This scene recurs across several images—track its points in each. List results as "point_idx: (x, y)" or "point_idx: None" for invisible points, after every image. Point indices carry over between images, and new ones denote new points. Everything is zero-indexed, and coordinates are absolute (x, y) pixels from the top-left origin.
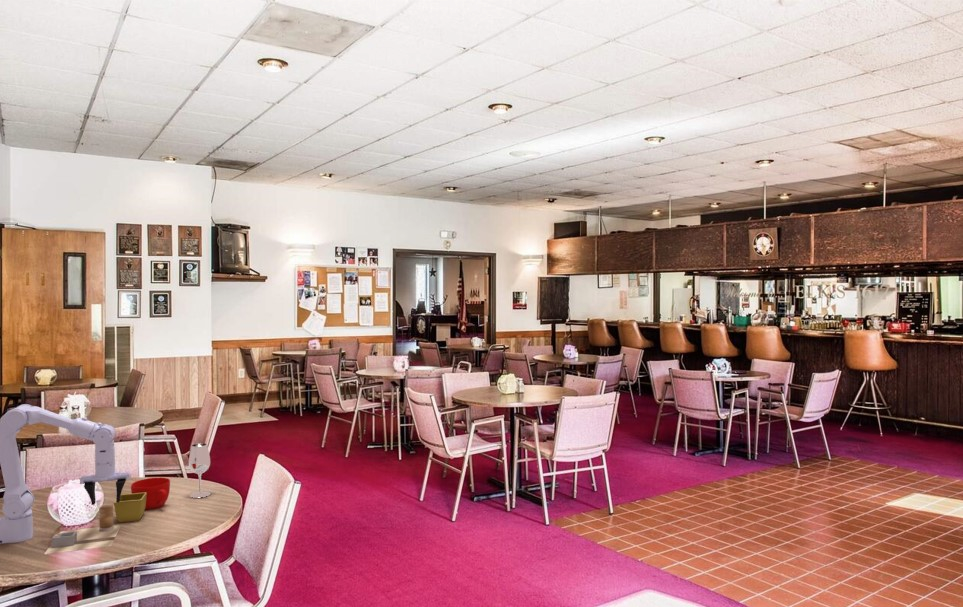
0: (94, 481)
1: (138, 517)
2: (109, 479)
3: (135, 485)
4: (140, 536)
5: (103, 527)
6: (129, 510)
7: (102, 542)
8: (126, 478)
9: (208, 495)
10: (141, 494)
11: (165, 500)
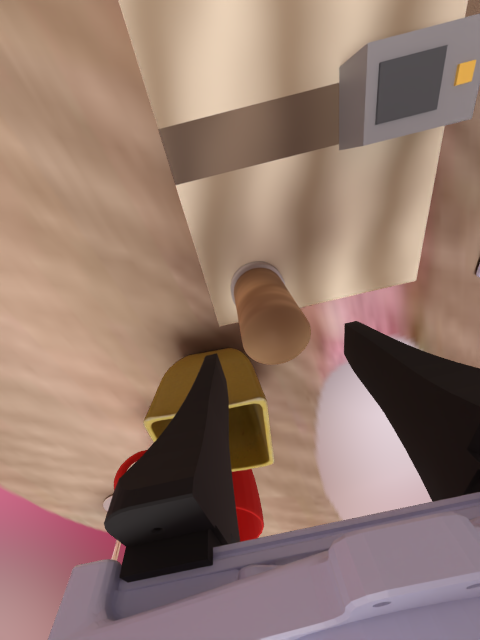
0: (477, 504)
1: (174, 364)
2: (309, 550)
3: (256, 520)
4: (97, 232)
5: (262, 269)
6: None
7: (201, 90)
8: (96, 583)
9: (103, 503)
10: None
11: None
